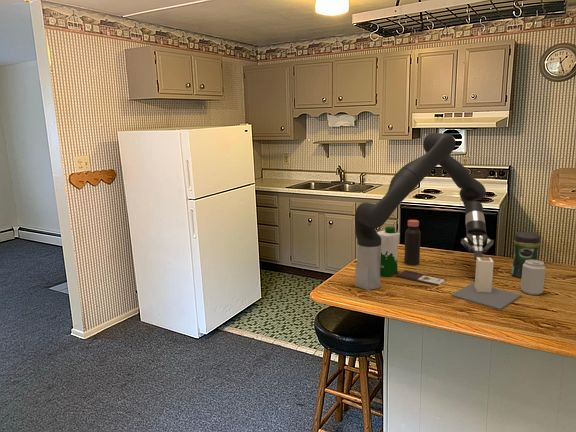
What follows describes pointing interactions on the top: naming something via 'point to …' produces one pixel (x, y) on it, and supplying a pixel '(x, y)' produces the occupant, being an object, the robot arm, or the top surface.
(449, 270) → the top surface
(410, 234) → the bottle
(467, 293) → the rubber mat
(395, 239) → the milk carton
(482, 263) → the cream block
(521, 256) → the coffee jar
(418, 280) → the chocolate bar
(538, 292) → the can
